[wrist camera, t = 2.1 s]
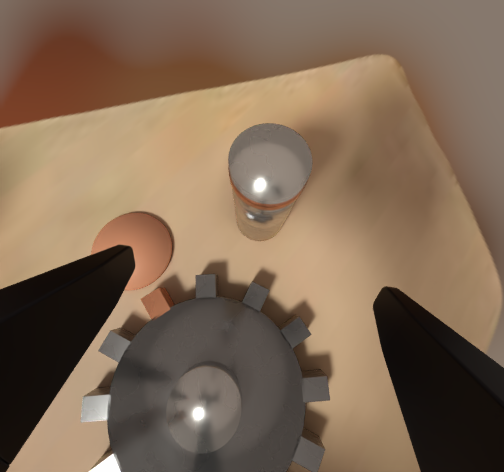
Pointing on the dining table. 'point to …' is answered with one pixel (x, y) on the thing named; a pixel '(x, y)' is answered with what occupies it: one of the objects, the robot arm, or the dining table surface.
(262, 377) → the sprocket
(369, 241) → the dining table surface
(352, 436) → the dining table surface
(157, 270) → the seat pad
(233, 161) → the pin
